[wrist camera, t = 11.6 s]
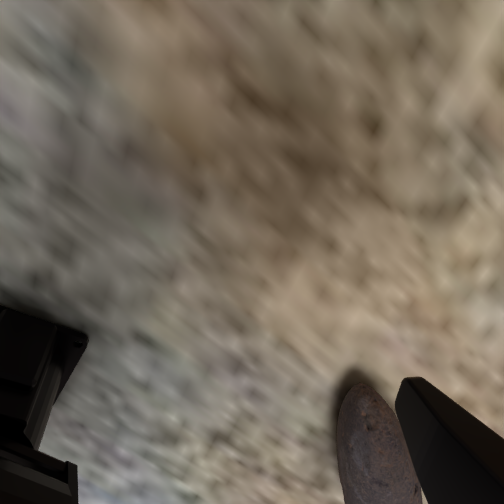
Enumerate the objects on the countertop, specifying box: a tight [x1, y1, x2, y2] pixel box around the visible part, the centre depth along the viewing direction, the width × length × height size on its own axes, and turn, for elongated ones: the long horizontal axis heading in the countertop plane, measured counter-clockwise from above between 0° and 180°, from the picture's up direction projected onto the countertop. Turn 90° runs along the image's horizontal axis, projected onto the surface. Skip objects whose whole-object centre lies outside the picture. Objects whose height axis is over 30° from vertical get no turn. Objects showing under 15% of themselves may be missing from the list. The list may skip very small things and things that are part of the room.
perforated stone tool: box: [337, 383, 422, 504], centre depth 29 cm, size 15×5×7 cm, turn 11°
